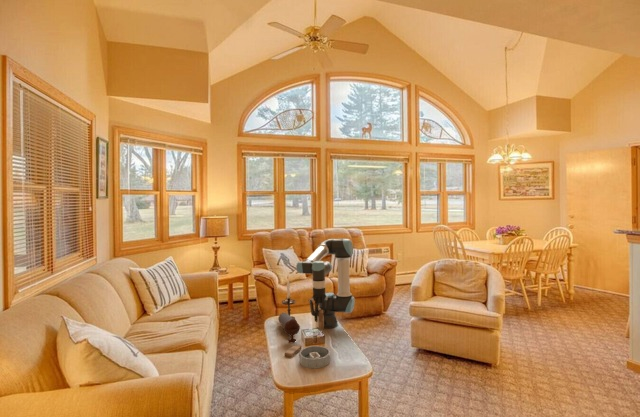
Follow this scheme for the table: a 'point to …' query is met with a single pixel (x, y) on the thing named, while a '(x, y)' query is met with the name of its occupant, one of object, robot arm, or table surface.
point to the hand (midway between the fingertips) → (319, 326)
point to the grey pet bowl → (314, 356)
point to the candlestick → (288, 300)
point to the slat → (293, 351)
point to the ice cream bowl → (291, 329)
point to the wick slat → (320, 319)
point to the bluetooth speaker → (284, 319)
